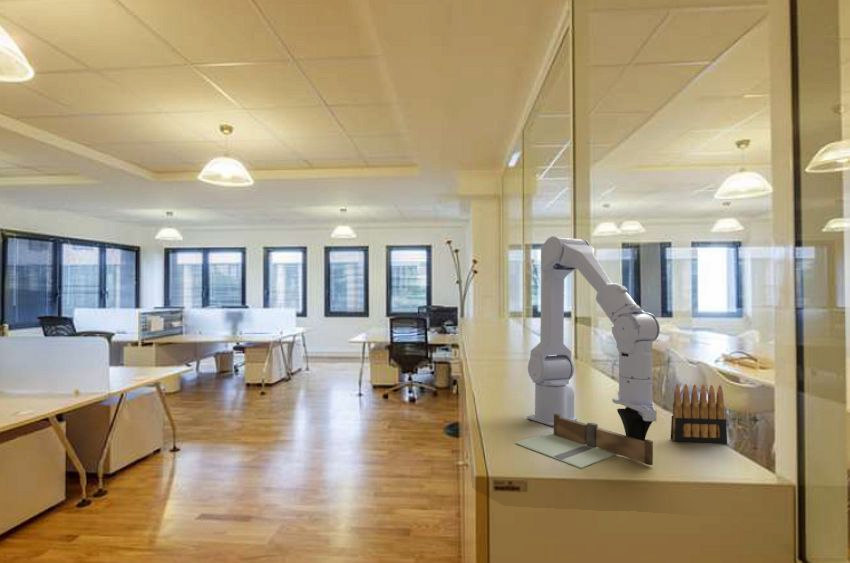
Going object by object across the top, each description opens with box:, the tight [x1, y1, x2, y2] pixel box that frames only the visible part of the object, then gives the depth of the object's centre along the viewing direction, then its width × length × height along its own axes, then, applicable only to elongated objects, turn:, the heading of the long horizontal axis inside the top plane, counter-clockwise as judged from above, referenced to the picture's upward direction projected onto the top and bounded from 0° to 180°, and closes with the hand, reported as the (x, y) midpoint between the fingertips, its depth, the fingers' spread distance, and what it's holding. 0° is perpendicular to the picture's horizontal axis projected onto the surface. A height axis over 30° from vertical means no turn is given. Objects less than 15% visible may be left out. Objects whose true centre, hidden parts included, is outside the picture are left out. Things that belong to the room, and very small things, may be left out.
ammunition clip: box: [670, 383, 728, 445], centre depth 90 cm, size 11×2×12 cm, turn 88°
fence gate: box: [596, 427, 654, 466], centre depth 80 cm, size 11×1×4 cm, turn 34°
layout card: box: [514, 430, 618, 469], centre depth 85 cm, size 16×15×1 cm
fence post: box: [553, 414, 599, 448], centre depth 89 cm, size 2×10×4 cm, turn 37°
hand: (635, 449), depth 81 cm, fingers closed
